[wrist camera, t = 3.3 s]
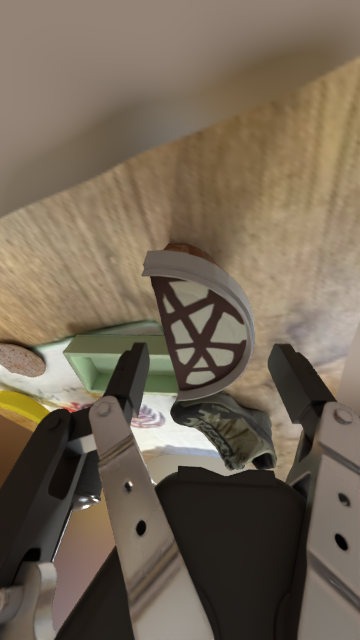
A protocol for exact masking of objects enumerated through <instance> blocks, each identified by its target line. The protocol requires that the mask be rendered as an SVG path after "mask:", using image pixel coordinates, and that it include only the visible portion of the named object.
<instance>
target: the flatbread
mask: <svg viewBox="0 0 360 640" xmlns="http://www.w3.org/2000/svg"><path fill="white" fill-rule="evenodd" d="M0 364H1V365H2V366H4V367H5V368H6V369H8V370H9V371H10V372H12V373H18V374H21V375H25V376H28V377H37V376H40V375H42V374H43V373H44V372H45V364H44V362H43V361H42V359H41V358H40V357H39V356H37V355H36V354H35V353H33V352H31V351H29V350H27V349H25V348H23V347H20V346H17V345H13V344H0Z"/></svg>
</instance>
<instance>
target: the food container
mask: <svg viewBox="0 0 360 640" xmlns="http://www.w3.org/2000/svg"><path fill="white" fill-rule="evenodd" d="M143 266H144V271H143V273H142V276H150V278H151V283H152V287H153V289H154V292H155V296H156V299H157V304H158V308H159V312H160V316H161V321H162V325H163V329H164V334H165V339H166V344H167V349H168V352H169V356H170V359H171V361H172V365H173V368H174V372H175V376H176V380H177V384H178V393H177V401H187V400H194V399H199V398H203V397H207V396H210V395H213V394H215V393H218V392H220V391H222V390H224V389H225V388H227V387H228V386H230V385H231V384H233V383H234V382H235V381H236V380H237V379H238V378H240V376H241V375H242V374H243V373H244V371H245V370H246V368H247V366H248V364H249V362H250V360H251V356H252V352H253V348H254V344H255V327H254V317H253V312H252V307H251V305H250V302H249V300H248V297H247V295H246V294H245V292H244V291H243V289H242V288H241V286H240V285H239V284H238V283H237V282H236V281H235V280H234V279H233V278H232V277H231V276H230V275H229V274H228V273H227V272H225V271H224V270H222V269H221V268H219V267H218V266H217V265H216V264H215V262H214V261H213V260H212V258H211V257H210V256H209V255H207V254H206V253H205V252H203V251H202V250H200V249H198V248H196V247H194V246H191V245H187V244H180V243H174V244H168V245H167V246H166V247H165V248H164V249H163V250H157V251H148V252H147V255H146V258H145V261H144V264H143Z"/></svg>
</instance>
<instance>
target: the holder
mask: <svg viewBox="0 0 360 640" xmlns="http://www.w3.org/2000/svg"><path fill="white" fill-rule="evenodd" d="M134 342H146V343H147V347H148V352H149V357H150V367H149V371H148V376H147V380H146V384H145V389H144V393H143V395H169V396H177V393H178V384H177V380H176V376H175V372H174V368H173V365H172V361H171V359H170V356H169V352H168V349H167V344H166V339H165V336H156V335H84V334H77V335H76V336H75V338H74V339H73V340H72V341H71V343H70V344H69V345H68V346H67V348H66V349H65V350H64V351H63V354H64V356H65V357H66V359H67V361H68V362H69V364H70V365H71V367H72V368H73V370H74V372H75V373H76V375H77V376H78V378H79V380H80V381H81V383H82V384H83V386H84V387H85V389H86V391H87V392H89V393H92V392H93V393H105V390H106V388H107V386H108V383H109V381H110V379H111V376H112V374H113V372H114V369H115V367H116V365H117V362H118V360H119V358H120V356H121V355H122V354H123V353H124V352H125V351H126V350H131V348H132V346H133V343H134Z"/></svg>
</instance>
